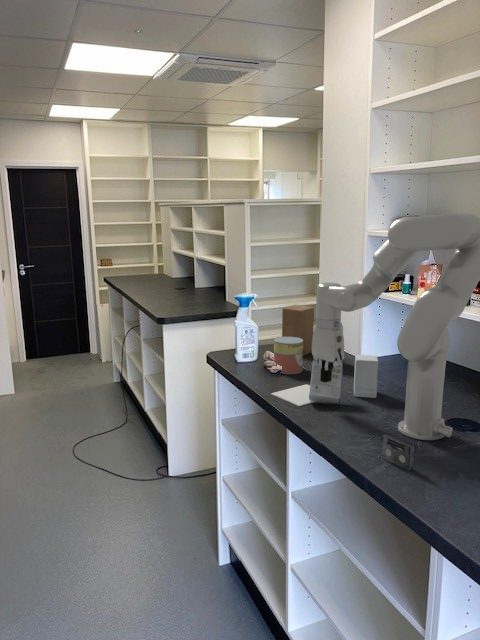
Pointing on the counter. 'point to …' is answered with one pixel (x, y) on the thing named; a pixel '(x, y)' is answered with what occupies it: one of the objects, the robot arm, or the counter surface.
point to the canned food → (289, 354)
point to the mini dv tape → (397, 452)
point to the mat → (295, 395)
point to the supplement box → (365, 376)
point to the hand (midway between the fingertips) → (325, 380)
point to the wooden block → (299, 324)
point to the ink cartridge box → (325, 385)
